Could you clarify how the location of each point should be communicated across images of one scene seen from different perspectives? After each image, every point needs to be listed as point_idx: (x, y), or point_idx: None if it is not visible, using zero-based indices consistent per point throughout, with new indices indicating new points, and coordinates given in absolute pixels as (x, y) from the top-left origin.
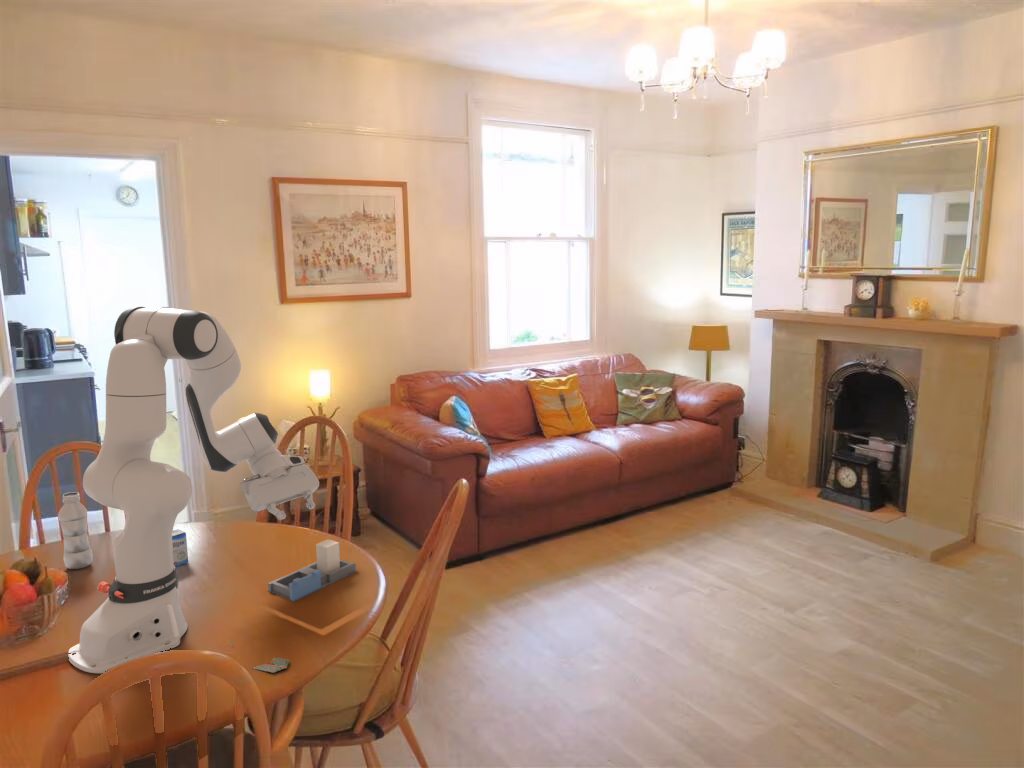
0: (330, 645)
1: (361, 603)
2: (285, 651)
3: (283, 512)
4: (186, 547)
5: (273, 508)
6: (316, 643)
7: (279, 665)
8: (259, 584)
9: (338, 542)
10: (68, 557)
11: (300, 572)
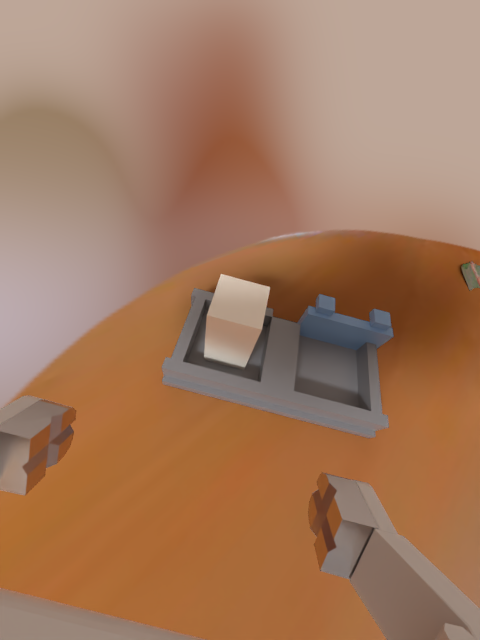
0: (401, 245)
1: (294, 252)
2: (451, 284)
3: (346, 499)
4: None
5: (476, 608)
6: (411, 260)
7: (474, 272)
8: None
9: (221, 274)
10: None
11: (293, 385)
